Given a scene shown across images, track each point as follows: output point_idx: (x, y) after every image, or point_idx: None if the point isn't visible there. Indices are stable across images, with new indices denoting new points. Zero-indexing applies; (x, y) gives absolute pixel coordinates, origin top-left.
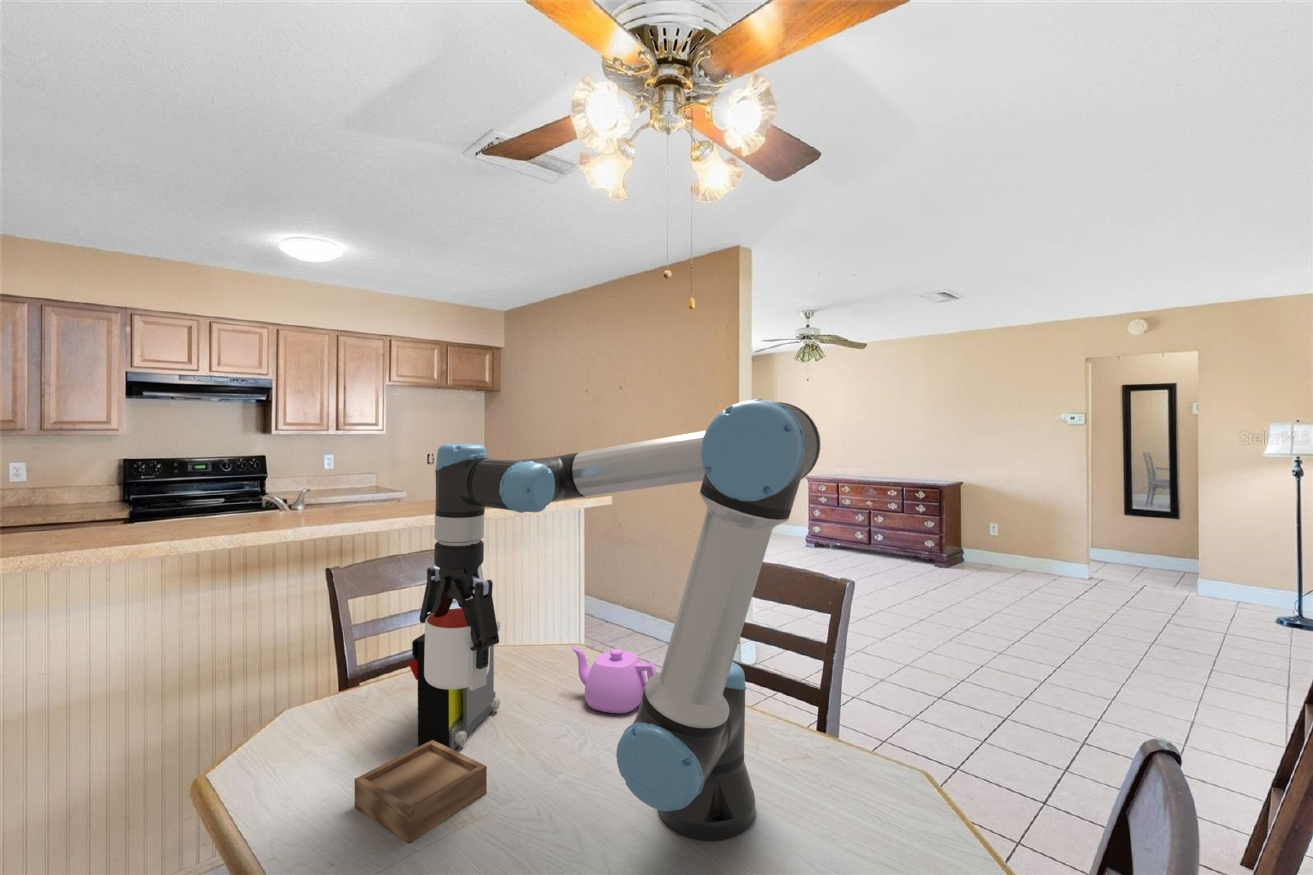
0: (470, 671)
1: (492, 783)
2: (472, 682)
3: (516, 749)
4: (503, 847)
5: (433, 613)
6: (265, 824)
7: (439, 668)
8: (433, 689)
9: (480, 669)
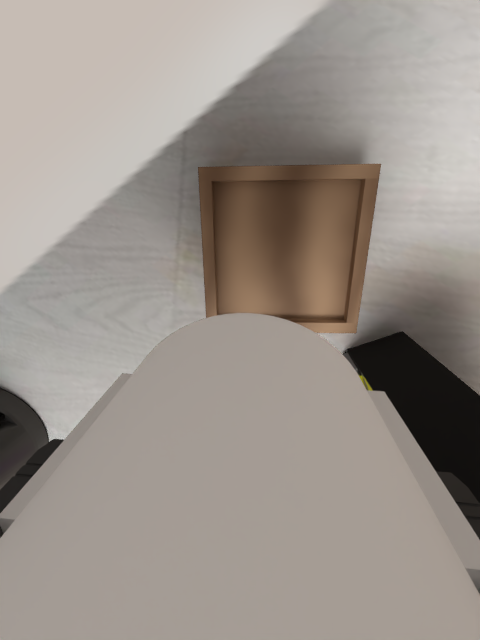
0: (96, 417)
1: None
2: (108, 391)
3: None
4: (99, 251)
5: None
6: (472, 30)
7: (180, 351)
8: (431, 406)
9: None
